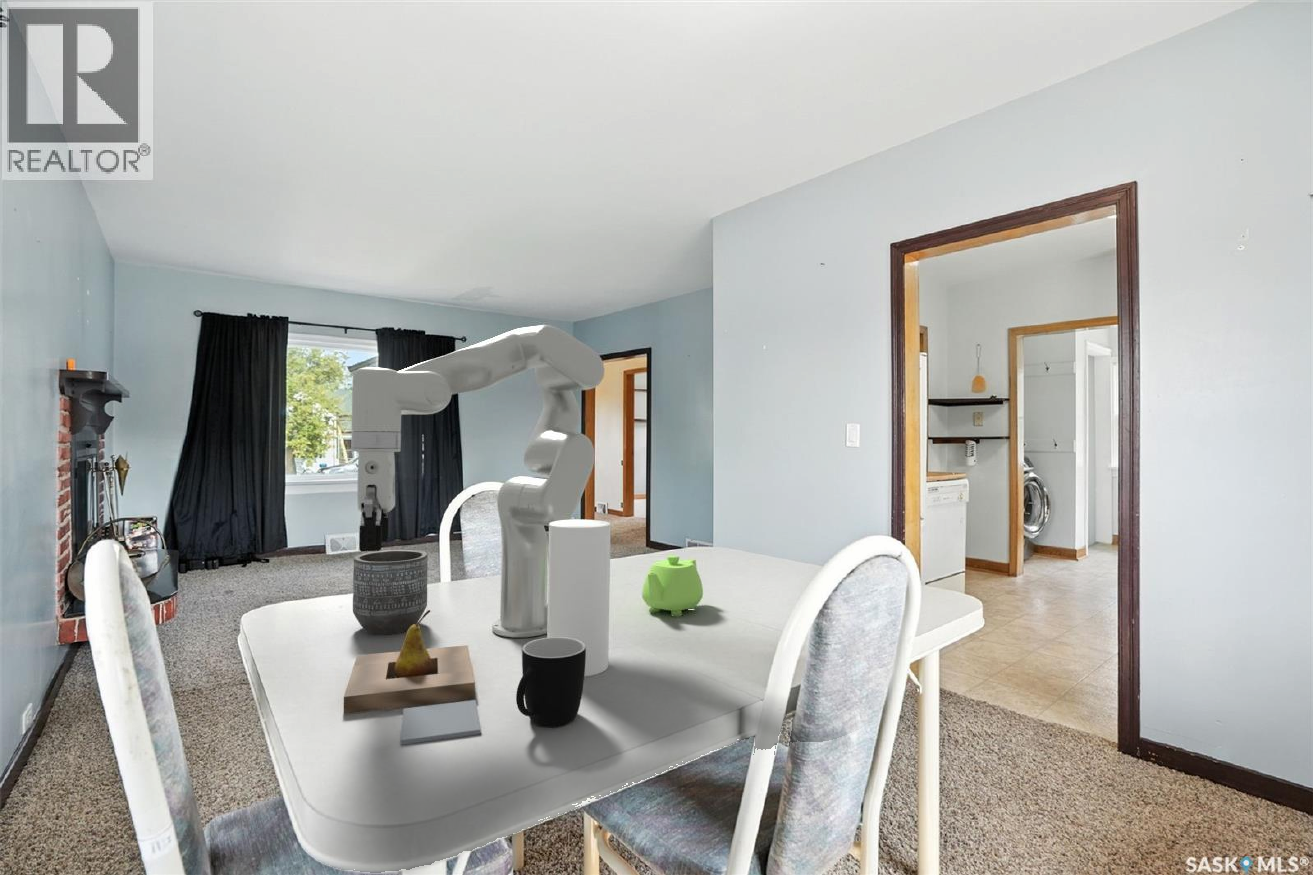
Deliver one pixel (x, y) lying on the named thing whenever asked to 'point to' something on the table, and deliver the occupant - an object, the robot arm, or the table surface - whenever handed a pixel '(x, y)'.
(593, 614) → the tall pillar cylinder
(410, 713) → the coaster
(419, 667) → the fruit
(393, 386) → the robot arm
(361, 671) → the block with square hole
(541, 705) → the mug
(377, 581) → the planter
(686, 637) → the table surface
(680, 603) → the teapot
